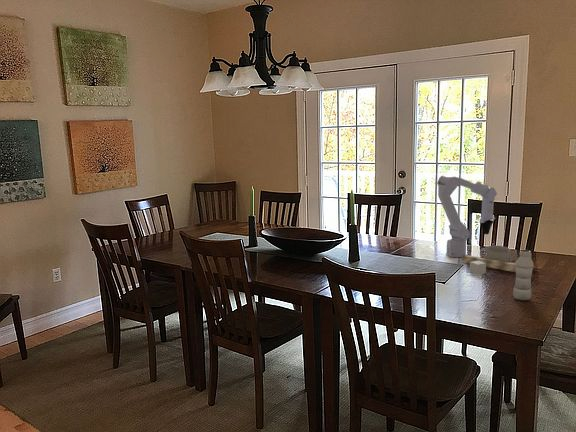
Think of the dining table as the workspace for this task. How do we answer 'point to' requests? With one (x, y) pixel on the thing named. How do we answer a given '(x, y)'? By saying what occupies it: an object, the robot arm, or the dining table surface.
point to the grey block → (478, 267)
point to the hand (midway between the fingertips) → (486, 234)
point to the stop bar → (490, 263)
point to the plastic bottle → (523, 276)
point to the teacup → (497, 253)
